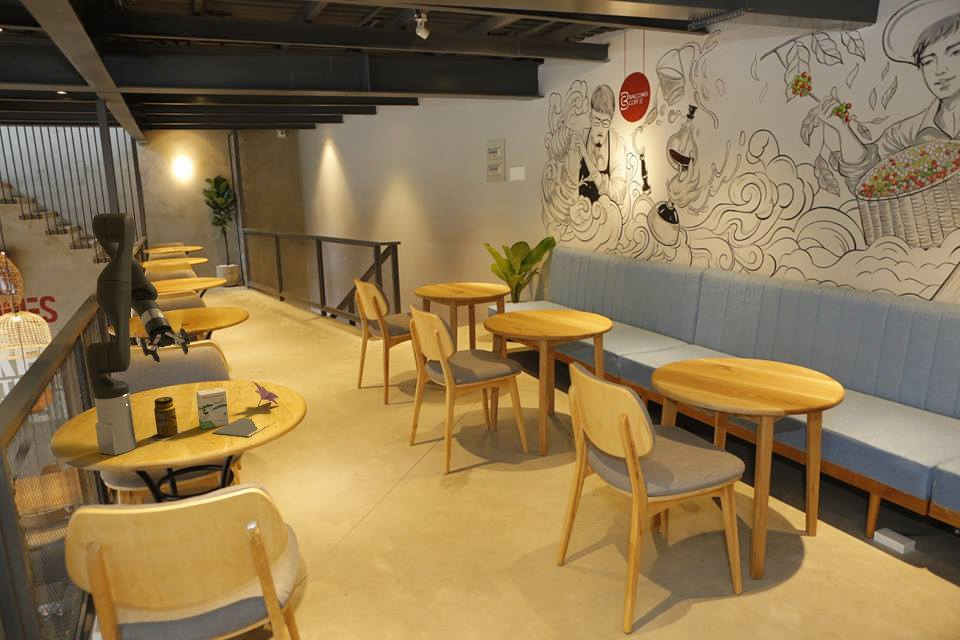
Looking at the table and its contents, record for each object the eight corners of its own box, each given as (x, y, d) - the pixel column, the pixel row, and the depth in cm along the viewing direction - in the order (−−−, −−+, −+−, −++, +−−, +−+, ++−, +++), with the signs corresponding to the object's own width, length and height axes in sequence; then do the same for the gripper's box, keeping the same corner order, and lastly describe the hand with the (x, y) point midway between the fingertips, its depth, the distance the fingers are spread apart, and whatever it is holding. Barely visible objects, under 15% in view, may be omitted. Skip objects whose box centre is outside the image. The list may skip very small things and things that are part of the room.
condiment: (184, 431, 213) (179, 396, 210) (165, 441, 205) (160, 404, 202) (165, 430, 215) (160, 394, 212) (146, 439, 207) (141, 403, 204)
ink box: (202, 429, 214) (198, 395, 211) (199, 425, 218) (195, 391, 216) (229, 424, 218) (226, 390, 216) (226, 420, 222) (222, 386, 220)
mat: (249, 437, 206) (249, 435, 206) (212, 433, 210) (212, 432, 210) (276, 422, 219) (275, 420, 219) (240, 418, 223) (240, 417, 223)
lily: (279, 414, 230) (287, 388, 232) (245, 406, 225) (253, 379, 228) (273, 415, 240) (281, 390, 243) (241, 407, 236) (249, 381, 238)
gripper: (132, 322, 215) (148, 354, 206) (177, 311, 223) (194, 342, 215) (134, 338, 220) (150, 371, 211) (179, 327, 228) (195, 358, 219)
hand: (172, 356), depth 213 cm, fingers open, 8 cm apart
